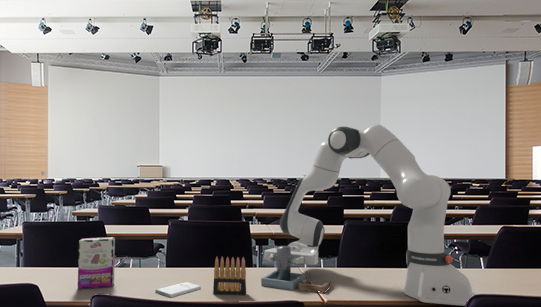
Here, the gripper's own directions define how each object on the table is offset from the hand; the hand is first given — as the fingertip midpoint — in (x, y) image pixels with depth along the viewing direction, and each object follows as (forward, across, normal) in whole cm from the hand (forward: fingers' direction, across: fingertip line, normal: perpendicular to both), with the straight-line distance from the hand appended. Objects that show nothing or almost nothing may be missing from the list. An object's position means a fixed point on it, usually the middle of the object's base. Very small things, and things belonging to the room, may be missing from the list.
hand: (282, 260), depth 137 cm
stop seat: (-1, +12, +8) cm, 15 cm away
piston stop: (-1, 0, +8) cm, 8 cm away
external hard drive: (+23, -28, +9) cm, 37 cm away
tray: (-1, 0, +8) cm, 8 cm away
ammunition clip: (+18, -11, +8) cm, 23 cm away
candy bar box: (+31, -57, +8) cm, 66 cm away
